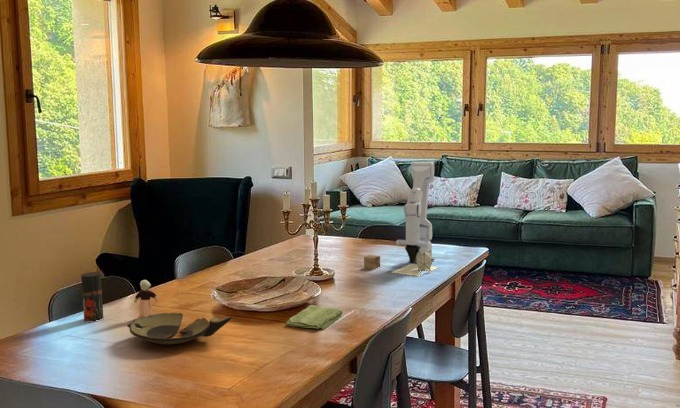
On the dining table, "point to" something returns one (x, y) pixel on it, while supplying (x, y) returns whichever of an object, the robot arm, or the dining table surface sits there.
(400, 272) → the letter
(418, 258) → the game die
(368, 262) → the walnut block
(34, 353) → the dining table surface
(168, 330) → the oil lamp
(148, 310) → the grandmother figurine
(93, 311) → the deodorant
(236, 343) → the dining table surface
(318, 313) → the washcloth
